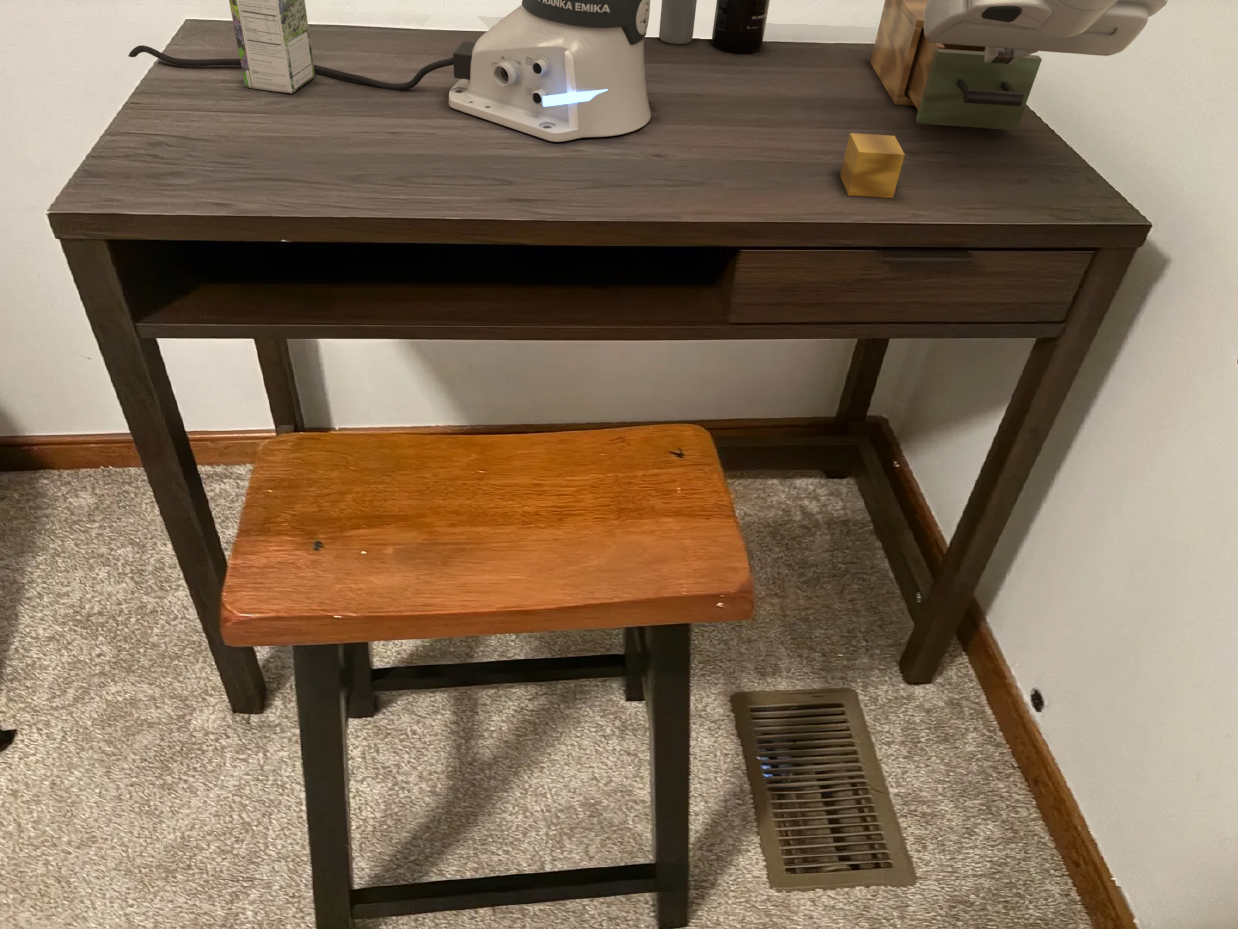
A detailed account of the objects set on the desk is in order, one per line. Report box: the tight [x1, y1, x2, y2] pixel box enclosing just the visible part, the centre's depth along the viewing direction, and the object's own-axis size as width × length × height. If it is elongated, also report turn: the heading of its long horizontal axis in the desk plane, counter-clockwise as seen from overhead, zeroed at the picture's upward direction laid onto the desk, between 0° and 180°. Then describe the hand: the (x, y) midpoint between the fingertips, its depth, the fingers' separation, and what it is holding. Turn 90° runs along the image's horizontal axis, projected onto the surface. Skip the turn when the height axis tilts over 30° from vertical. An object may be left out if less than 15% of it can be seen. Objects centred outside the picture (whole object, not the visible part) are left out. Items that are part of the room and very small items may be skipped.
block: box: [839, 132, 906, 199], centre depth 91 cm, size 4×4×4 cm
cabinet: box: [870, 0, 928, 107], centre depth 113 cm, size 15×13×10 cm
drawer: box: [905, 27, 1042, 131], centre depth 105 cm, size 18×11×8 cm, turn 0°
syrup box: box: [228, 0, 316, 94], centre depth 99 cm, size 6×6×14 cm
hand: (997, 56), depth 97 cm, fingers closed
